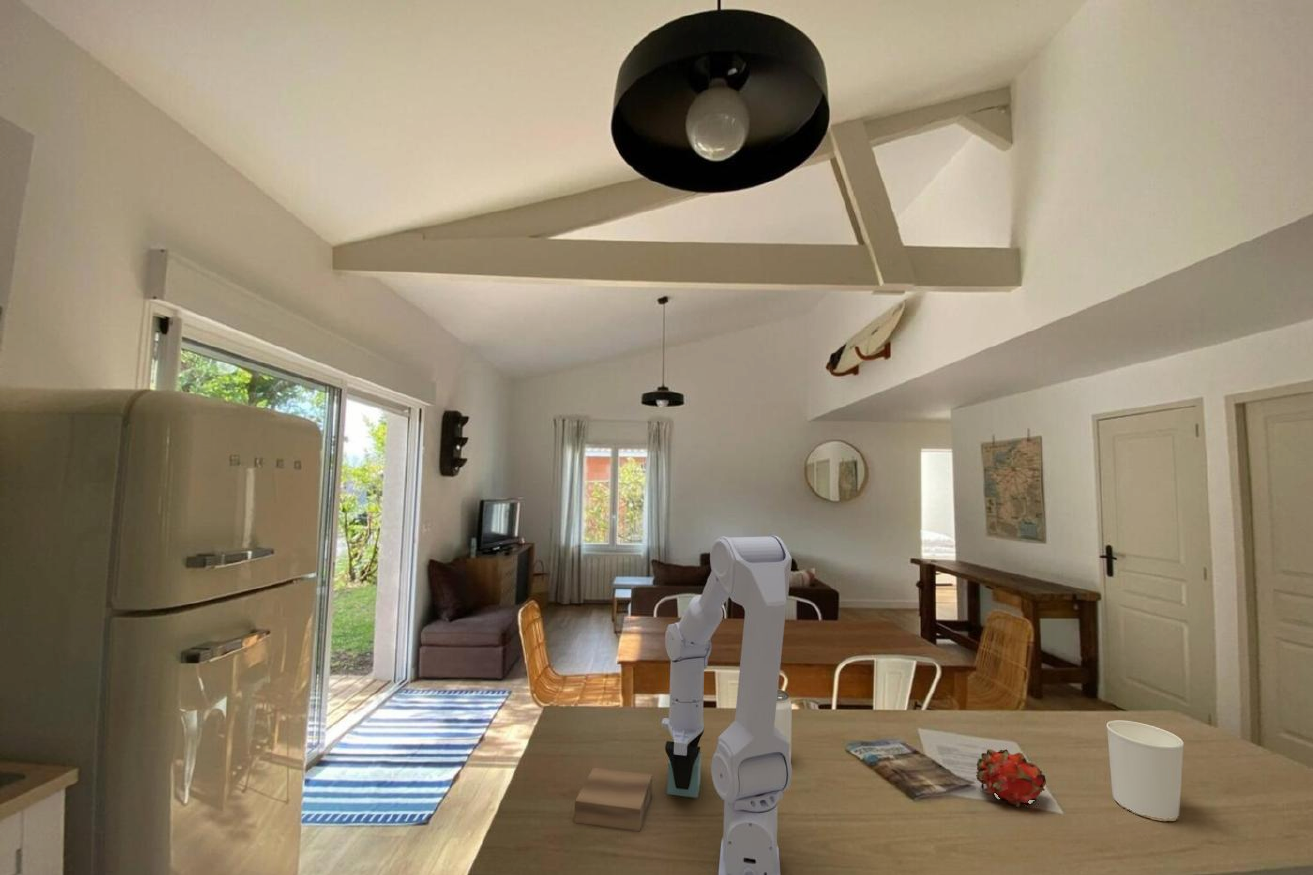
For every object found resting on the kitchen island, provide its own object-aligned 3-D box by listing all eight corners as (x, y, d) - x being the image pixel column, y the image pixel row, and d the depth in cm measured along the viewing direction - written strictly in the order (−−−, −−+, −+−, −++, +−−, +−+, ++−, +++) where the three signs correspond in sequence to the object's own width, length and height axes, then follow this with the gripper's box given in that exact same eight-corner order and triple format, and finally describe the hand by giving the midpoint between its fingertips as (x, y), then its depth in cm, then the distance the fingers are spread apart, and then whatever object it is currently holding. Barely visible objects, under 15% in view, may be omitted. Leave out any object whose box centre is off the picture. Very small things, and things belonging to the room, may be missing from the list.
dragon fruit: (968, 805, 97) (1037, 816, 98) (998, 798, 91) (1072, 810, 91) (957, 749, 103) (1023, 760, 103) (985, 738, 96) (1055, 750, 97)
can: (791, 771, 104) (792, 702, 104) (754, 766, 105) (756, 698, 106) (790, 753, 110) (791, 689, 111) (755, 749, 111) (757, 685, 112)
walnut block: (639, 833, 85) (640, 809, 86) (574, 824, 87) (575, 800, 87) (651, 796, 95) (652, 774, 95) (592, 788, 97) (593, 767, 97)
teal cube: (697, 797, 94) (698, 766, 95) (667, 794, 95) (668, 762, 96) (700, 781, 99) (701, 751, 100) (671, 778, 100) (672, 748, 101)
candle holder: (1155, 829, 89) (1154, 749, 90) (1092, 794, 99) (1091, 722, 100) (1201, 821, 92) (1199, 743, 93) (1135, 788, 101) (1134, 717, 102)
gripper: (669, 678, 106) (667, 755, 105) (655, 711, 92) (653, 799, 91) (708, 682, 105) (706, 759, 104) (700, 715, 91) (698, 805, 90)
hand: (684, 778), depth 97 cm, fingers closed on teal cube, 5 cm apart
